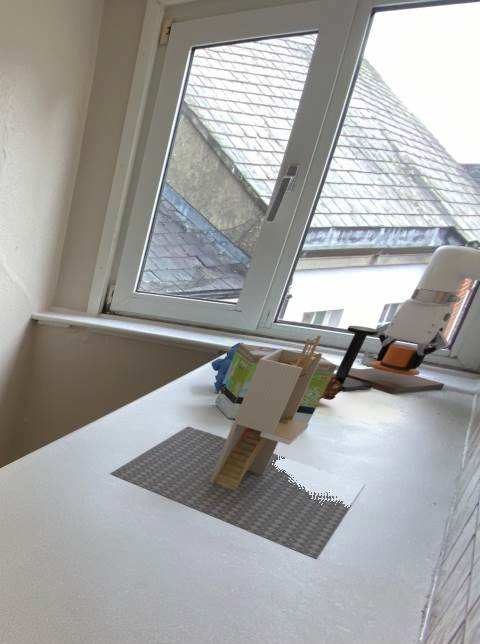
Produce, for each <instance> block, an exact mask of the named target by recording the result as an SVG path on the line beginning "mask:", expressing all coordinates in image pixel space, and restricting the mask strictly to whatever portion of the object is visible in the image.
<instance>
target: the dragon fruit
mask: <svg viewBox="0 0 480 644" xmlns="http://www.w3.org/2000/svg"><path fill="white" fill-rule="evenodd" d="M341 386H342V385H341V383H340V382H339V379H338V378H337V377H333V375H332V377H331V379H330V381H329V383H328V385H327V387H326V389H325V391H324V393H323V395H322V397H321V399H320V400H322V399H323V400H327V401H331V400H334V399H335V398H336V396H337V395H338V394H339V393H341V392H343V391H342V388H341Z"/></svg>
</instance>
